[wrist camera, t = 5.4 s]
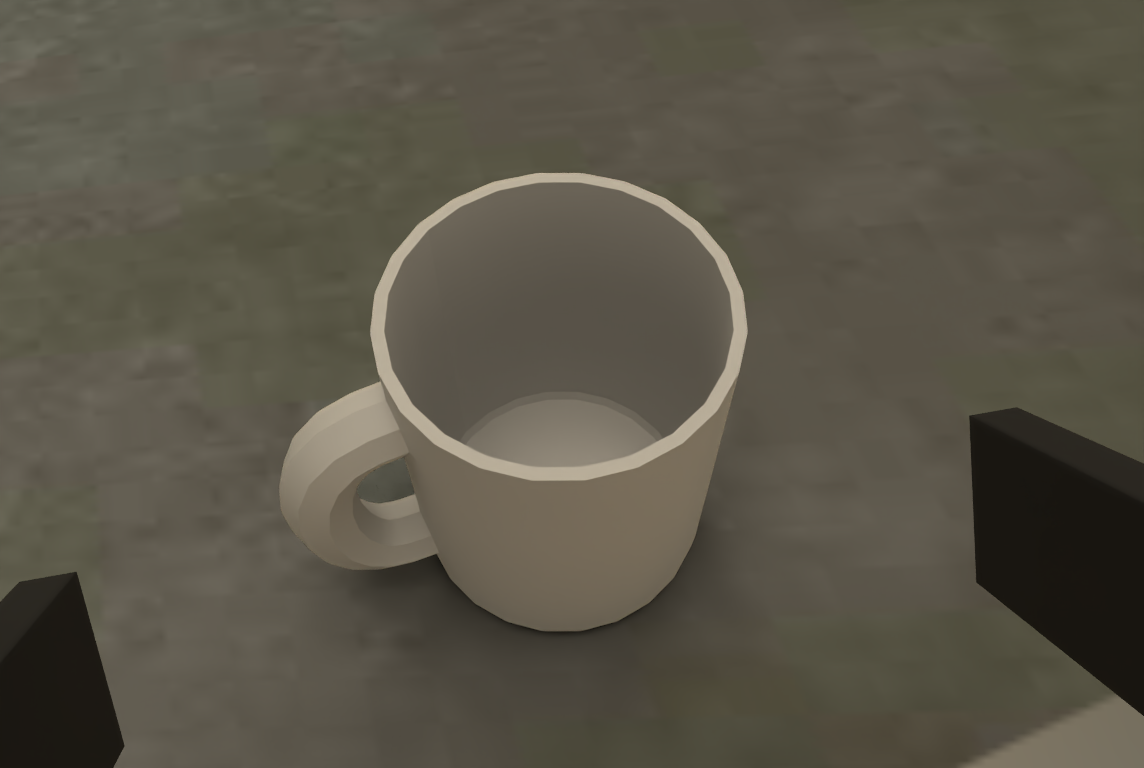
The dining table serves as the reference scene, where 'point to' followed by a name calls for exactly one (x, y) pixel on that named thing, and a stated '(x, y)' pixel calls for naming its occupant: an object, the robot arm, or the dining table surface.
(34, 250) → the dining table surface
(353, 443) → the cup
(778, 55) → the dining table surface
